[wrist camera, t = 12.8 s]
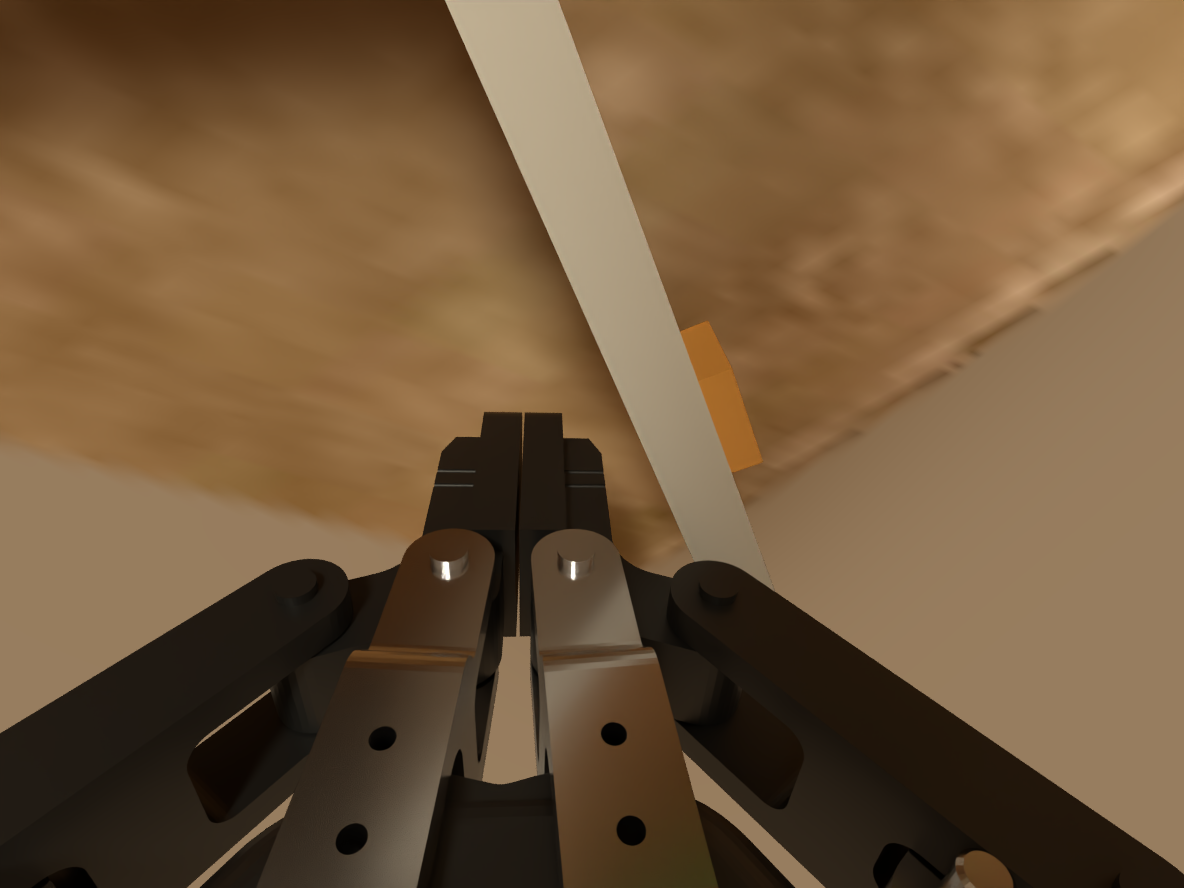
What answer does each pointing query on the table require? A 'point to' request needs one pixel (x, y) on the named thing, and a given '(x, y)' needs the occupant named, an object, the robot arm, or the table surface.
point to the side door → (618, 274)
